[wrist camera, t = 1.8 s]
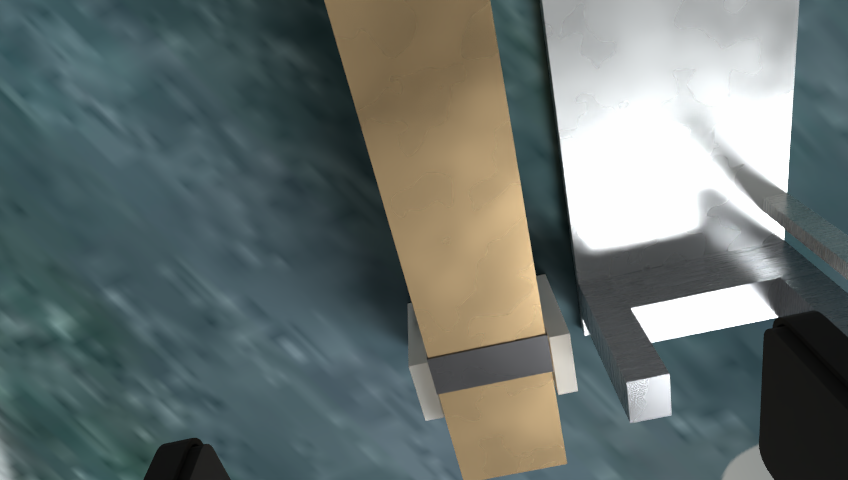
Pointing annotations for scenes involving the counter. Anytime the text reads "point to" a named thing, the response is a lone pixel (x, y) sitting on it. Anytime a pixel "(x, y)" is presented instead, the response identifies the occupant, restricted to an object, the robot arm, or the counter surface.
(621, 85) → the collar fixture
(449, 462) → the counter surface
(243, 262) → the counter surface
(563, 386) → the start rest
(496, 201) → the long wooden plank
